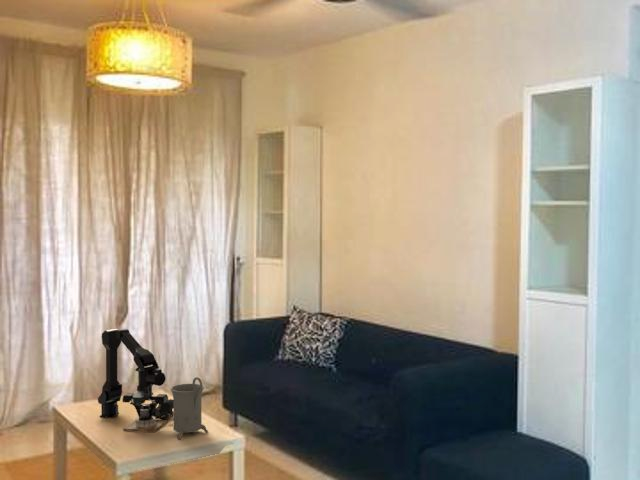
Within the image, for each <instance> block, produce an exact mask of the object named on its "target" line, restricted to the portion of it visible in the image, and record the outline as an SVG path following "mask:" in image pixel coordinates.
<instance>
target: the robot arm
mask: <svg viewBox="0 0 640 480" xmlns="http://www.w3.org/2000/svg"><path fill="white" fill-rule="evenodd" d="M101 342H102V345H103V347H104V349H105V382H104V383H103V386H102V387H101V392H100V395H99V396H98V398H97V403H98V404H99V405H101V415H99V417H100V418H114V417H116V416H118V415H119V414H120V412H119V404H118V402H121V401H122V403H129V405H132V406H133V407H134V409H135V411H136V413H137V415H138V416H137V417H139V418H140V405H142V404H146V401H149V402H150V401H151V403H148V404H149V405H150V418H152V416H153V413H154V411H155V408H157V407H158V405H159V404H164V403H165V402H167V401H168V400H169V396H168V395H167V394H164V393H163V394H162V393H159V394H157V395H154V392H153V386H158V387H161V386H162V385H164V384H165V381H166V375H165V373H164V372H162V368H160V366H159V363H158V362H157V360H156V358H155V355H154V354H153V353H152V352H151V351H150V350H149V349H146V348H144V347H142V346H141V344H140V343H139V342H138V341H137V340H136V339H135V337H134V336H133V335H132V334H131V332H130V330H129V329H128V328H122V329H118V328H112V329H108V330H104V331H103V332H102V333H101ZM121 344H123V345H124V346H125V348H126V349H127V350H128V351H129V352H130V353H131V355H132V356H133V363H135V365H136V366H137V367H136V368H135V369H134V370H135V372H138V373H137V374H138V376H137V377H138V383H137V384H138V385H137V386H136V391H135V392H128V393H126V394H124V395H122V394H123V384H122V383H120V382H119V380H118V349H119V347H120V346H121ZM121 399H122V400H121Z"/></svg>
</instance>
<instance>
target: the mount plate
mask: <svg viewBox="0 0 640 480" xmlns="http://www.w3.org/2000/svg"><path fill="white" fill-rule="evenodd" d="M167 423H168V419H167V420H161V419H156V417H154V416H152V418H151V420H146V421H141V420H140V418H139V416H137V417H136V418H135V420H133V421H132V422H131V423H129V424H128V425H126V426H125V427H123V432H140V433H142V432H143V433H157V431H158V430H159V429H161V428H162V427H164V426H165V425H166V424H167Z"/></svg>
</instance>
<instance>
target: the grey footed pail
mask: <svg viewBox="0 0 640 480" xmlns="http://www.w3.org/2000/svg"><path fill="white" fill-rule="evenodd" d="M196 381H198V383H199V384H197V383H196ZM204 389H205V386H204V385H203V382H202V379H201V378H200V377H198V376H195V377H194V378H193V379H192V383H182V384H177V385H174V386H171V388H170V391H171V393H172V400H173V401H174V408H173V431H175V432H177V433H178V438H177V439H178V440H179V441H180V440H181V438H182V436H183V434H184V433H187V434H188V433H194V432H198V431H199V430H203V431H204V432H205V433H208V431H209V430H208V429H207V427H206V425H205V424H203V423H202V396H203V391H204Z"/></svg>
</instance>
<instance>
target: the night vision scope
mask: <svg viewBox="0 0 640 480" xmlns="http://www.w3.org/2000/svg"><path fill="white" fill-rule="evenodd" d="M173 415H174V401H173V398H172V399H168V401H167V402H165V403H164V404H157V406H156V408H155V411H154V413H153V416H154V417H156V420H167V421H168V419H169V418H171V417H172V416H173Z"/></svg>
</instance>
